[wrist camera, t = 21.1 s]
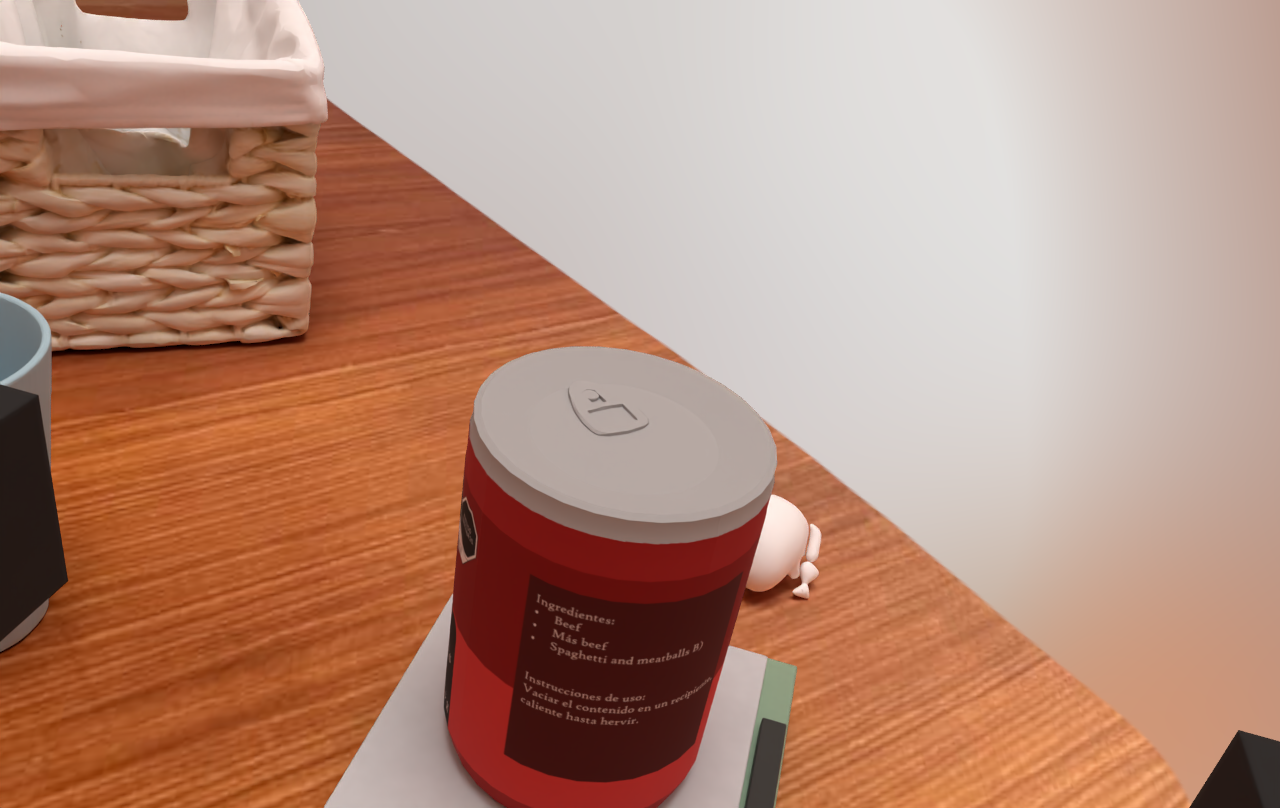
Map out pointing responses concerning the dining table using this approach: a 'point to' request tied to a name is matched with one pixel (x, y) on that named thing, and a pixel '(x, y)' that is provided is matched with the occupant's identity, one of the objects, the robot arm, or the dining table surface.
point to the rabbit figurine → (784, 549)
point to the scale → (454, 804)
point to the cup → (26, 389)
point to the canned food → (598, 573)
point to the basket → (159, 171)
